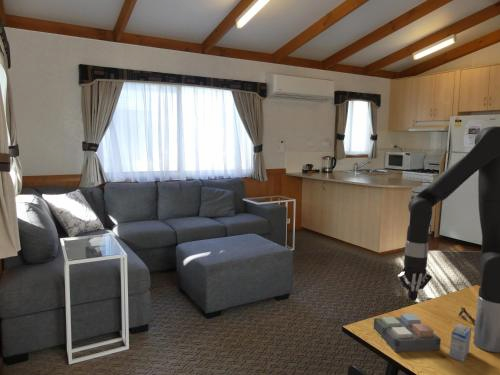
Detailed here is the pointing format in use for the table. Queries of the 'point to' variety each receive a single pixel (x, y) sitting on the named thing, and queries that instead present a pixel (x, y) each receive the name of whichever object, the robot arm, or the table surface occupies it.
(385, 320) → the sage key
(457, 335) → the medicine box
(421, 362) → the table surface
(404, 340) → the keypad
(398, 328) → the cream key
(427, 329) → the terracotta key
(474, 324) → the wooden post with brackets
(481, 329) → the robot arm
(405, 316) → the blue key
